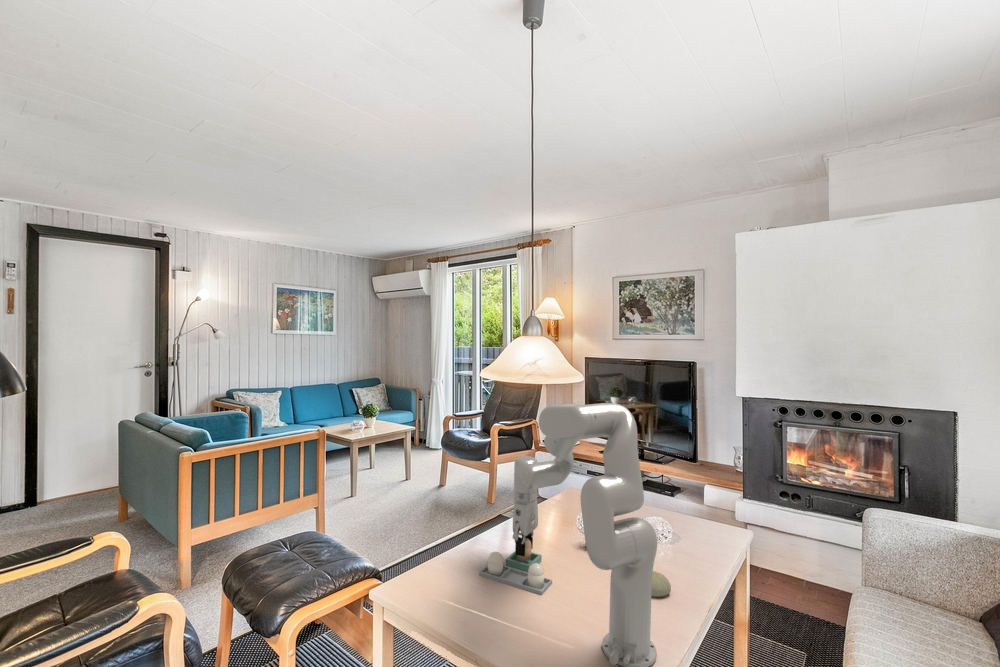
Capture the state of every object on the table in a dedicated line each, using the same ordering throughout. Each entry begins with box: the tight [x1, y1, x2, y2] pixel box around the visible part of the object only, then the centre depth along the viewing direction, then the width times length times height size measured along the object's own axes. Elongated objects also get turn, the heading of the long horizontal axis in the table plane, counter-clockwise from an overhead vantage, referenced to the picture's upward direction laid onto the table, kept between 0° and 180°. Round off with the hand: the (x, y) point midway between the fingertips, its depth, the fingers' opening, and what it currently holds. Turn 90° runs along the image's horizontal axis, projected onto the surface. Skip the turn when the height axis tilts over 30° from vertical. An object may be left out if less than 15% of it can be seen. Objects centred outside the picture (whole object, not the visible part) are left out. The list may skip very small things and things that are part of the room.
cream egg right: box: [527, 563, 545, 590], centre depth 142 cm, size 5×5×6 cm
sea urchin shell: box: [651, 570, 672, 598], centre depth 142 cm, size 9×8×8 cm
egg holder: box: [505, 551, 543, 573], centre depth 155 cm, size 9×9×3 cm
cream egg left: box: [487, 551, 504, 577], centre depth 149 cm, size 5×5×6 cm
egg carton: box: [478, 564, 553, 596], centre depth 146 cm, size 7×21×2 cm, turn 61°
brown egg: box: [516, 537, 532, 561], centre depth 155 cm, size 5×5×6 cm
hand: (524, 551), depth 155 cm, fingers closed on brown egg, 4 cm apart
